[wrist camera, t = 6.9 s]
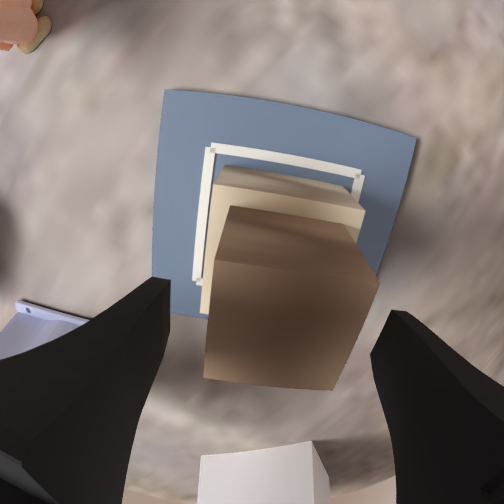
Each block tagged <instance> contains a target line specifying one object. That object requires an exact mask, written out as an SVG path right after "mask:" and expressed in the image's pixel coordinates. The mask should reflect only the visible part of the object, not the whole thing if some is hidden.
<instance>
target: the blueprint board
mask: <svg viewBox="0 0 504 504" xmlns="http://www.w3.org/2000/svg"><path fill="white" fill-rule="evenodd" d="M416 139H417V138H415V137H412V136H409V135H406V134H403V133H400V132H397V131H394V130H390V129H387V128H384V127H380V126H377V125H374V124H370V123H367V122H363V121H359V120H356V119H352V118H348V117H344V116H340V115H336V114H332V113H327V112H323V111H319V110H314V109H309V108H305V107H300V106H295V105H290V104H284V103H279V102H273V101H267V100H261V99H254V98H247V97H240V96H233V95H224V94H216V93H206V92H195V91H182V90H166V89H165V91H164V98H163V106H162V114H161V123H160V132H159V142H158V152H157V164H156V177H155V193H154V212H153V241H152V277H158V278H163V279H169V280H171V296H170V313H175V314H180V315H186V316H192V317H198V318H204V319H208V315H209V314H202V313H200V305H201V293H202V282H203V272H204V261H205V251H206V242H207V233H208V223H209V215H210V206H211V198H212V190H213V184H214V182H215V180H216V179H217V177H218V175H219V174H220V172H221V170H222V169H223V167H224V165H228V166H235V167H242V168H248V169H255V170H261V171H267V172H273V173H279V174H285V175H290V176H296V177H301V178H306V179H311V180H317V181H322V182H327V183H331V184H336V185H341V186H343V187H344V188H345V189H346V190H347V191H348V192H349V193H350V195H351V196H352V197H353V198H354V199H355V200H356V201H357V202H358V203H359V204H360V205H361V206H362V208H363V209H364V210H365V215H364V218H363V222H362V225H361V229H360V232H359V235H358V239H357V242H356V244H357V246H358V248H359V249H360V251H361V252H362V254H363V256H364V257H365V259H366V261H367V262H368V264H369V266H370V267H371V269H372V271H373V272H374V274H375V276H376V274H377V271H378V269H379V266H380V263H381V260H382V257H383V255H384V252H385V249H386V246H387V243H388V240H389V237H390V234H391V231H392V227H393V224H394V221H395V218H396V215H397V211H398V208H399V205H400V201H401V198H402V194H403V191H404V187H405V183H406V180H407V176H408V172H409V168H410V164H411V160H412V156H413V152H414V148H415V143H416Z"/></svg>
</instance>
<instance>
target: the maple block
mask: <svg viewBox="0 0 504 504" xmlns="http://www.w3.org/2000/svg"><path fill="white" fill-rule="evenodd" d="M230 205H232V206H238V207H245V208H252V209H258V210H264V211H271V212H277V213H283V214H289V215H295V216H301V217H307V218H313V219H319V220H324V221H330V222H336V223H341V224H344V225H345V227H346V228H347V230H348V232H349V233H350V235H351V236H352V238H353V240H354V241H355V243H356V242H357V239H358V235H359V232H360V229H361V225H362V222H363V218H364V215H365V210H364V209H363V208H362V206H361V205H360V204H359V203H358V202H357V201H356V200H355V199H354V198H353V197H352V196H351V195H350V193H349V192H348V191H347V190H346V189H345V188H344V187H343V186H341V185H336V184H331V183H327V182H322V181H317V180H311V179H306V178H301V177H296V176H290V175H285V174H279V173H273V172H267V171H261V170H255V169H248V168H242V167H235V166H228V165H224V167H223V169H222V170H221V172H220V174H219V175H218V177H217V179H216V180H215V182H214V184H213V190H212V198H211V206H210V215H209V223H208V233H207V242H206V251H205V261H204V272H203V282H202V293H201V305H200V313H202V314H209V305H210V295H211V285H212V275H213V266H214V259H215V255H216V252H217V248H218V245H219V241H220V238H221V234H222V231H223V228H224V224H225V221H226V217H227V214H228V211H229V207H230Z"/></svg>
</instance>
